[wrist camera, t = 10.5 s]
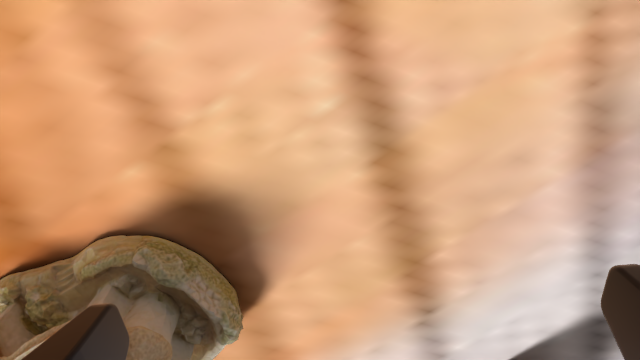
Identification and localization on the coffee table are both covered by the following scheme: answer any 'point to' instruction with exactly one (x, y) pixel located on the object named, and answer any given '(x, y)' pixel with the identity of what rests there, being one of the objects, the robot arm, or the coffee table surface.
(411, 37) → the coffee table surface
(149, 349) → the ceramic model
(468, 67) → the coffee table surface
